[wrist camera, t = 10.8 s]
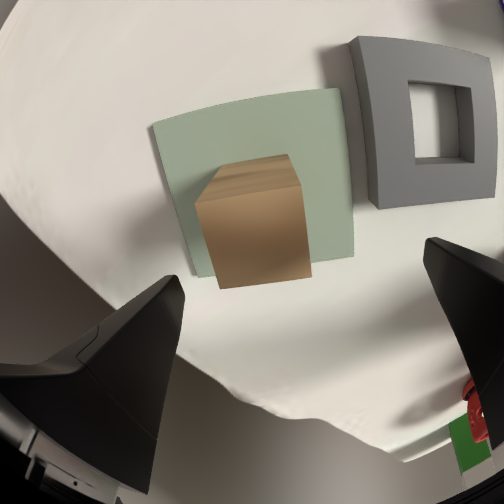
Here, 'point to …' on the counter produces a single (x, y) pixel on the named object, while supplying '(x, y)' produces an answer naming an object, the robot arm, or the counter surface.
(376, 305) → the counter surface
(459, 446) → the hardback book
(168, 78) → the counter surface
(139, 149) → the counter surface
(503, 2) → the supplement box
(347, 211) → the rubber mat
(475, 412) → the plant pot
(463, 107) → the charcoal holder
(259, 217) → the oak block
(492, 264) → the robot arm
